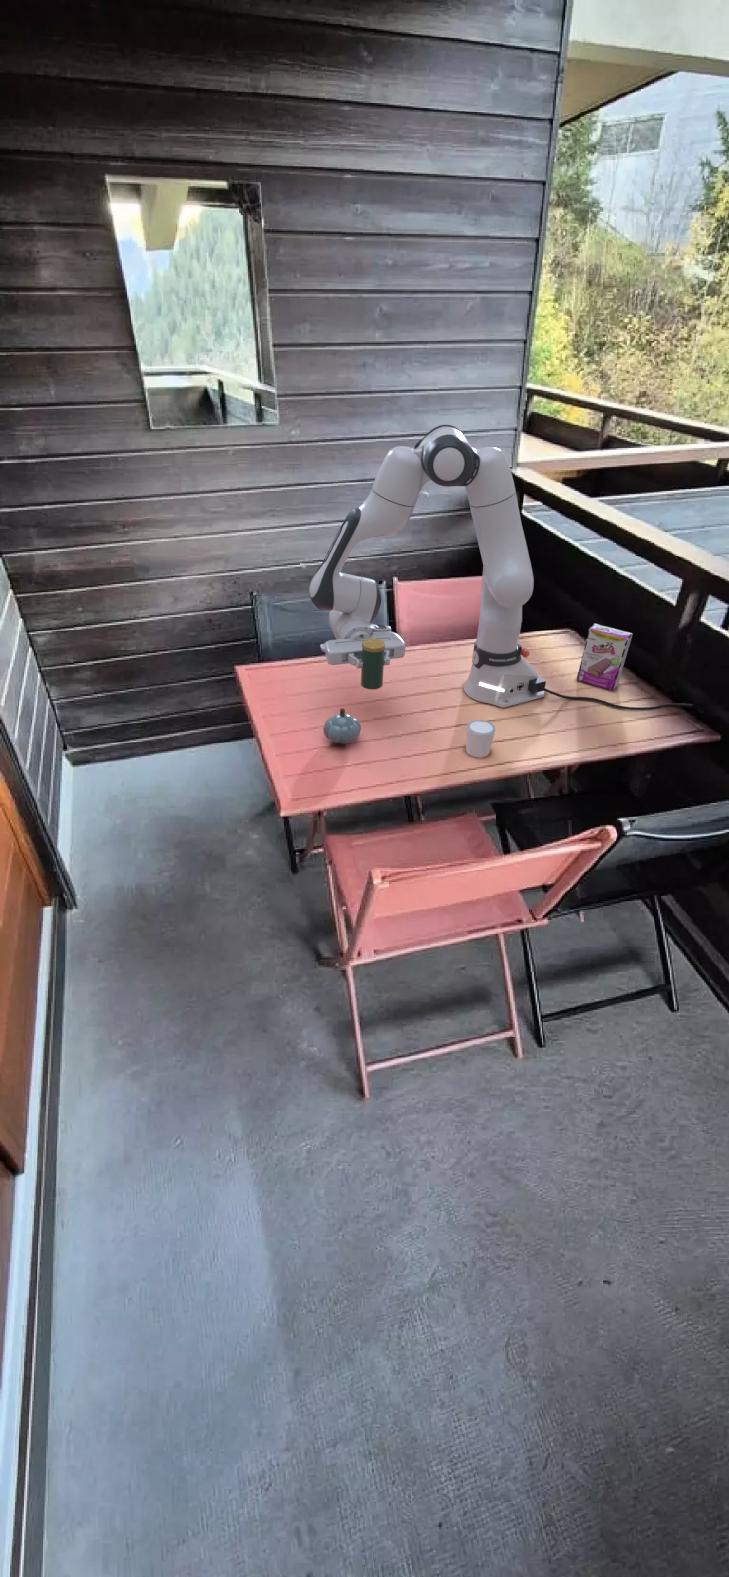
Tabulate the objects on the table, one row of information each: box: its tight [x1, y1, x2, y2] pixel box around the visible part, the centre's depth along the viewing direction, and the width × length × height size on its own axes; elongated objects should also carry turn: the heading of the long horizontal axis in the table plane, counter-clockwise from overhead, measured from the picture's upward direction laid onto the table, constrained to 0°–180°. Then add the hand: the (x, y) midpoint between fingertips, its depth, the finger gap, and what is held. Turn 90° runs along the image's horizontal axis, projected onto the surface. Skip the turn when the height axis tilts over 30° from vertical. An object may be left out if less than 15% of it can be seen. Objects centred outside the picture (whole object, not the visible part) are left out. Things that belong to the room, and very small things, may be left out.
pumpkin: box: [322, 707, 362, 745], centre depth 171 cm, size 9×9×9 cm
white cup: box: [465, 719, 496, 758], centre depth 170 cm, size 7×7×7 cm
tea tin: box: [360, 639, 385, 690], centre depth 170 cm, size 6×6×11 cm
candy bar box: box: [576, 623, 634, 692], centre depth 198 cm, size 11×5×16 cm, turn 58°
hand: (374, 664), depth 169 cm, fingers closed on tea tin, 5 cm apart
